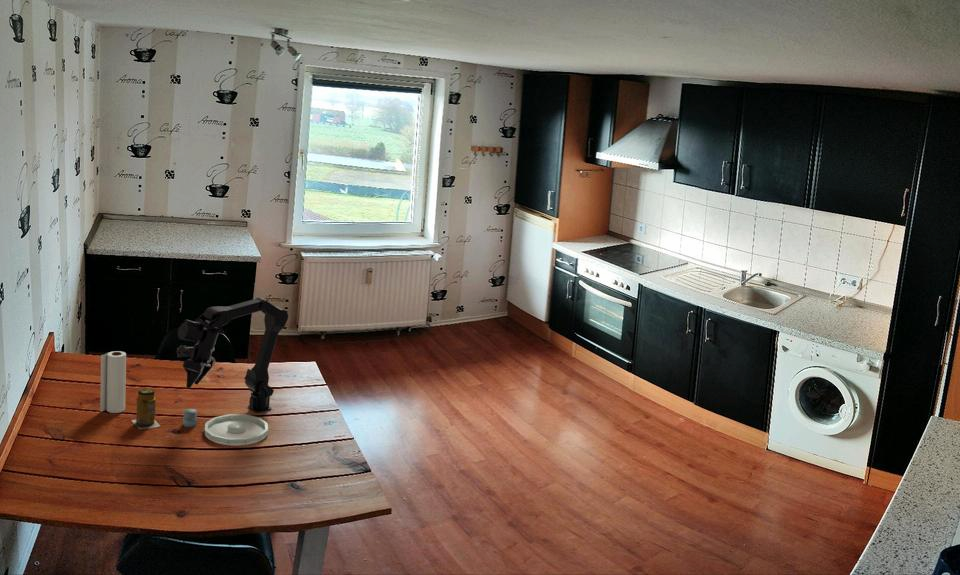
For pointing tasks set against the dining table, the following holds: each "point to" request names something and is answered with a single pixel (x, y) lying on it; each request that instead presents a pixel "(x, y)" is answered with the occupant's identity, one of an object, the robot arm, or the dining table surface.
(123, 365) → the paper towel roll
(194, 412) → the blue-grey short cylinder
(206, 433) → the tray
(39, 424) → the dining table surface
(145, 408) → the condiment
